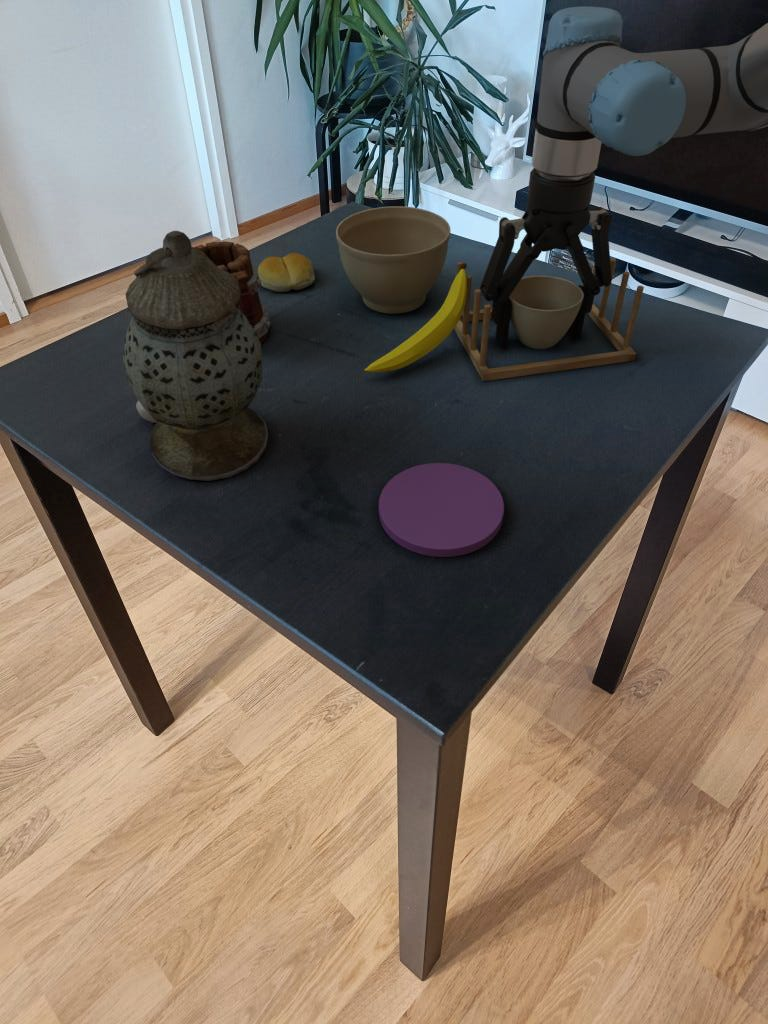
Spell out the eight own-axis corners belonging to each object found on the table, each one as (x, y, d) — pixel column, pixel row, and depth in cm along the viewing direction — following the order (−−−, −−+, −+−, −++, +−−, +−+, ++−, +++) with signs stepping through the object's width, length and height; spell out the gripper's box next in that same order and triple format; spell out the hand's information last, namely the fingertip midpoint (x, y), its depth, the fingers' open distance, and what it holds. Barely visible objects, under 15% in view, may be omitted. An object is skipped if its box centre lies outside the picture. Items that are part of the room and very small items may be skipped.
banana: (376, 393, 95) (352, 359, 91) (476, 297, 97) (458, 260, 92) (387, 400, 93) (364, 366, 89) (490, 302, 94) (471, 264, 90)
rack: (634, 360, 94) (651, 293, 88) (482, 381, 92) (488, 313, 85) (585, 303, 106) (598, 240, 99) (449, 320, 103) (452, 256, 96)
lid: (520, 545, 71) (522, 537, 70) (393, 567, 69) (393, 559, 68) (481, 463, 80) (482, 455, 79) (368, 480, 78) (367, 472, 78)
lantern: (163, 495, 77) (114, 287, 58) (131, 415, 85) (79, 210, 66) (285, 461, 81) (276, 258, 63) (244, 388, 90) (225, 189, 71)
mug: (249, 302, 107) (241, 208, 95) (293, 358, 101) (290, 265, 89) (175, 324, 103) (157, 229, 91) (216, 384, 96) (201, 290, 84)
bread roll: (256, 273, 115) (252, 249, 112) (310, 267, 116) (308, 243, 113) (260, 297, 109) (256, 272, 106) (318, 290, 110) (315, 265, 108)
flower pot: (585, 333, 100) (595, 285, 95) (557, 367, 94) (566, 317, 89) (520, 315, 104) (526, 268, 99) (489, 346, 98) (494, 298, 93)
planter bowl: (324, 288, 111) (318, 218, 103) (417, 267, 115) (418, 198, 108) (366, 337, 100) (363, 263, 93) (466, 311, 105) (471, 238, 97)
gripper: (638, 150, 87) (602, 315, 103) (461, 167, 84) (452, 334, 100) (668, 171, 82) (625, 341, 97) (480, 190, 79) (467, 363, 94)
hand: (537, 338), depth 99 cm, fingers closed on flower pot, 10 cm apart
